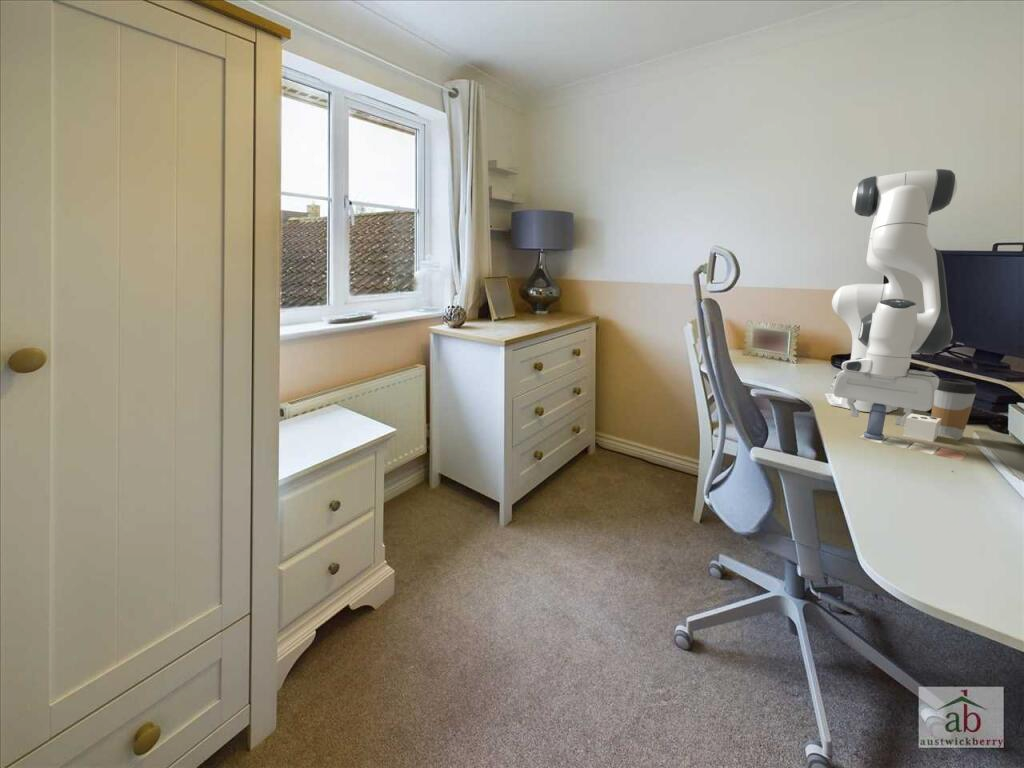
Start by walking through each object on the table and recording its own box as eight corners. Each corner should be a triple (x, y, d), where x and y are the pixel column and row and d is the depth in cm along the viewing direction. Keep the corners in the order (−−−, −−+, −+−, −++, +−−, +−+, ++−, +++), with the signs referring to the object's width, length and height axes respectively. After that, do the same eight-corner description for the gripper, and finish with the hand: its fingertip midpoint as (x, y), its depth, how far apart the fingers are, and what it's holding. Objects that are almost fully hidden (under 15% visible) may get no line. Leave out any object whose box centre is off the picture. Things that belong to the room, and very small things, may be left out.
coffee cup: (933, 430, 134) (944, 377, 131) (972, 439, 127) (985, 383, 123) (918, 434, 130) (929, 380, 127) (957, 444, 123) (970, 386, 119)
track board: (852, 442, 124) (853, 437, 123) (861, 435, 129) (862, 431, 129) (966, 467, 108) (967, 462, 108) (971, 458, 113) (973, 453, 113)
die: (901, 439, 126) (906, 417, 124) (907, 435, 130) (911, 413, 128) (931, 446, 121) (936, 422, 120) (936, 440, 125) (941, 418, 124)
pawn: (861, 434, 126) (867, 399, 124) (878, 435, 125) (885, 400, 123) (868, 439, 122) (874, 403, 120) (886, 440, 121) (892, 404, 119)
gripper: (943, 371, 114) (931, 428, 117) (842, 359, 129) (834, 410, 132) (938, 374, 110) (926, 433, 113) (835, 362, 125) (826, 414, 128)
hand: (876, 420), depth 122 cm, fingers open, 8 cm apart
